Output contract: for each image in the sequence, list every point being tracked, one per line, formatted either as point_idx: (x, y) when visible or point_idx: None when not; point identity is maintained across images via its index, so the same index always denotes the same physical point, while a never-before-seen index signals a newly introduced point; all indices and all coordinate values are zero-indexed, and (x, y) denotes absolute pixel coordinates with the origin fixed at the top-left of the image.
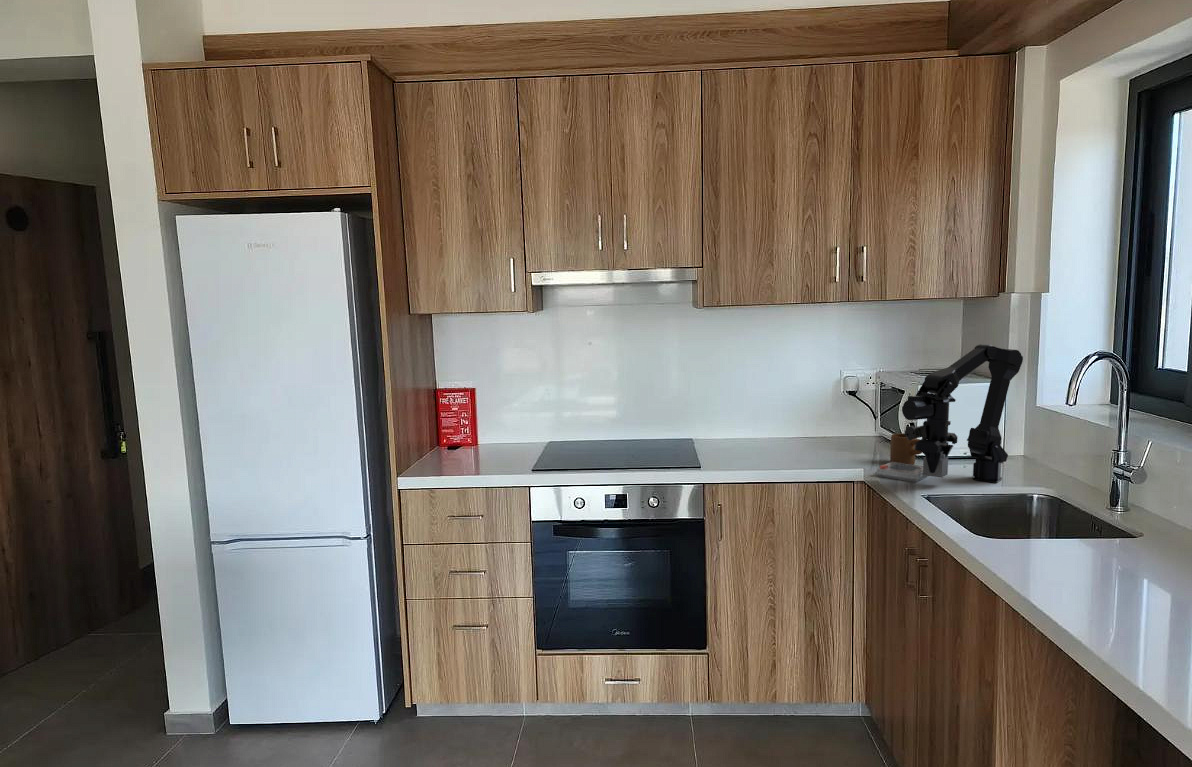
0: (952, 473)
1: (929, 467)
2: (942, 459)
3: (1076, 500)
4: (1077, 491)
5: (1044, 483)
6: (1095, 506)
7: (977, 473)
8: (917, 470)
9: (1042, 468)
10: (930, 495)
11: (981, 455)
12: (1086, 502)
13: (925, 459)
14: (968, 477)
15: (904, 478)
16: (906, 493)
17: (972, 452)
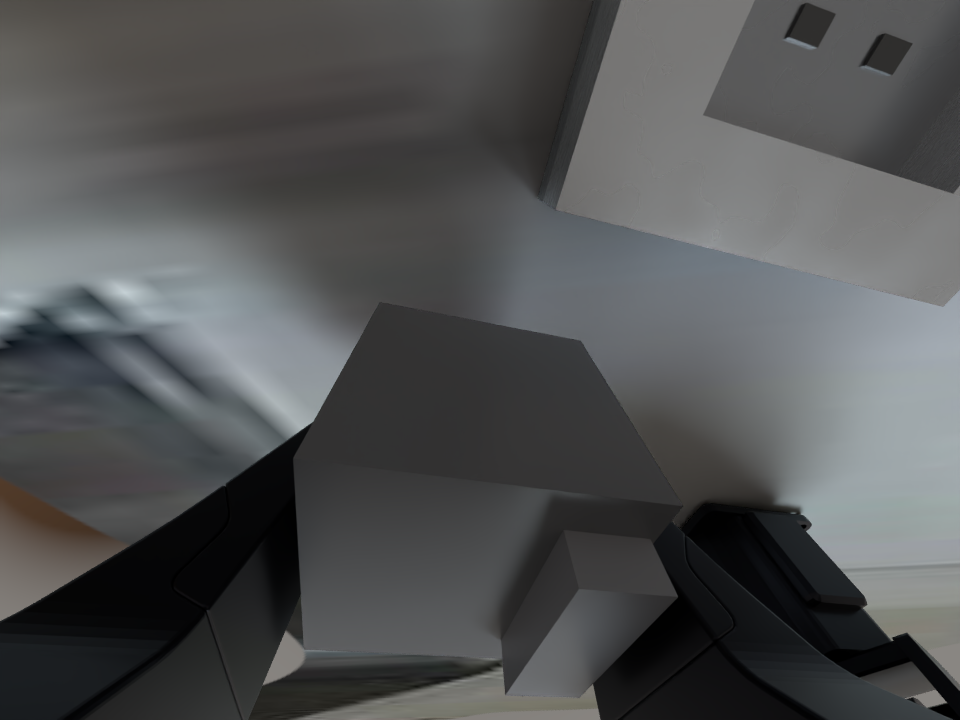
0: (889, 407)
1: (304, 436)
2: (386, 642)
3: (477, 692)
4: None
5: None
6: (430, 710)
7: (741, 547)
8: (768, 189)
9: (935, 636)
10: (148, 349)
11: (889, 684)
12: (465, 701)
13: (305, 470)
14: (771, 480)
15: (588, 36)
16: (10, 151)
17: (939, 690)
